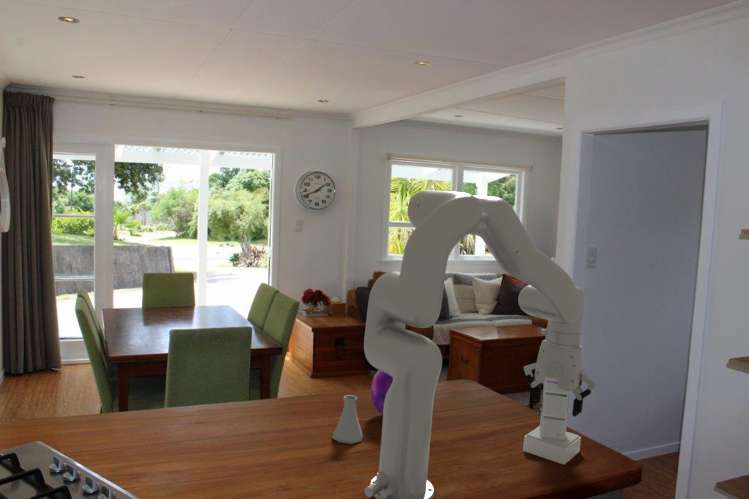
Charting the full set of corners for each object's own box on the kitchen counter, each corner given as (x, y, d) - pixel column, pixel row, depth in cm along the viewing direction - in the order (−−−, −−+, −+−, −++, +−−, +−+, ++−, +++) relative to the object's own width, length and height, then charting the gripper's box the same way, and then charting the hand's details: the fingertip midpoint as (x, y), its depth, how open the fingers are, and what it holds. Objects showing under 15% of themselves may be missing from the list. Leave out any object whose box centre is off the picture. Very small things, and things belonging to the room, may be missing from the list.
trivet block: (564, 464, 137) (566, 447, 137) (522, 450, 143) (524, 434, 143) (579, 451, 145) (581, 435, 145) (539, 438, 151) (541, 423, 151)
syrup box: (565, 441, 141) (572, 380, 139) (539, 437, 142) (545, 376, 140) (563, 432, 146) (570, 373, 145) (538, 428, 147) (544, 370, 146)
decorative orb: (394, 434, 147) (399, 374, 146) (357, 414, 159) (361, 358, 158) (438, 423, 157) (443, 366, 155) (400, 404, 168) (404, 351, 167)
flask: (326, 439, 142) (329, 397, 141) (342, 429, 148) (345, 389, 147) (352, 447, 139) (356, 405, 138) (368, 437, 145) (371, 396, 144)
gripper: (521, 332, 144) (514, 402, 146) (595, 348, 134) (587, 423, 135) (534, 328, 150) (527, 395, 152) (605, 343, 139) (597, 415, 141)
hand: (555, 409), depth 143 cm, fingers open, 9 cm apart
